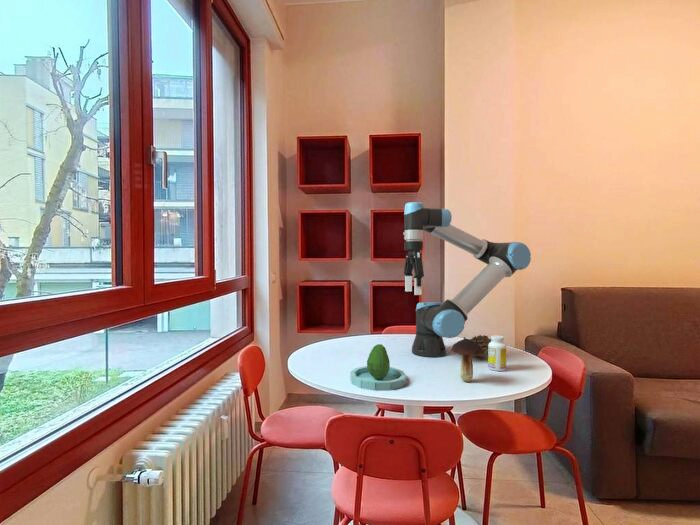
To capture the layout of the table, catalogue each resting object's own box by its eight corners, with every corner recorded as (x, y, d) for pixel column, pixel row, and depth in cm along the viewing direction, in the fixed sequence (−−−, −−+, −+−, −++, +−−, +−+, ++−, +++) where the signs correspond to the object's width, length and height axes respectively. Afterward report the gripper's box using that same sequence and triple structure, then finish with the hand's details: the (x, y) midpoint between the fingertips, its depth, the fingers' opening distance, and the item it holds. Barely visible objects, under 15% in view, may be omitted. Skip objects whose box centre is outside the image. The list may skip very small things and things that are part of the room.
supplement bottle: (505, 367, 152) (506, 335, 152) (506, 372, 146) (507, 338, 146) (487, 366, 155) (488, 334, 154) (487, 370, 148) (488, 337, 148)
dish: (398, 371, 145) (398, 365, 145) (411, 389, 127) (411, 381, 126) (347, 373, 143) (348, 366, 143) (354, 391, 124) (354, 383, 124)
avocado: (388, 374, 139) (388, 341, 139) (391, 382, 131) (391, 347, 131) (365, 374, 139) (366, 341, 138) (367, 382, 131) (368, 346, 131)
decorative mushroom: (464, 388, 128) (465, 343, 128) (443, 378, 138) (444, 336, 138) (489, 384, 133) (490, 340, 132) (468, 375, 143) (468, 334, 142)
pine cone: (501, 360, 162) (502, 337, 162) (482, 362, 159) (483, 338, 159) (469, 348, 183) (470, 327, 183) (452, 350, 180) (452, 328, 180)
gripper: (397, 241, 169) (396, 290, 169) (413, 239, 144) (412, 296, 144) (413, 241, 169) (413, 290, 170) (432, 239, 145) (432, 296, 145)
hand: (413, 293), depth 157 cm, fingers open, 13 cm apart
